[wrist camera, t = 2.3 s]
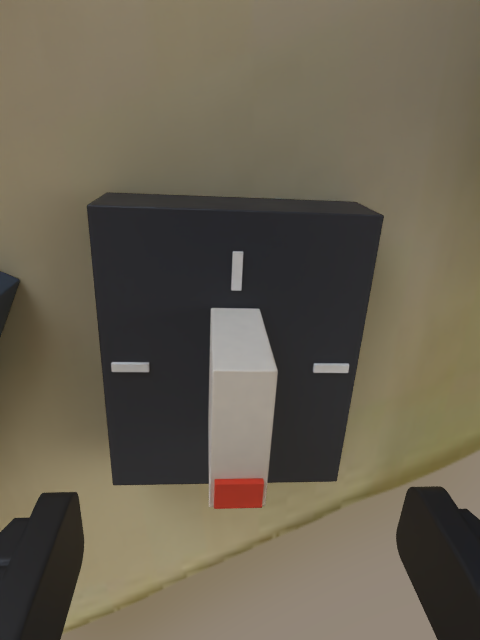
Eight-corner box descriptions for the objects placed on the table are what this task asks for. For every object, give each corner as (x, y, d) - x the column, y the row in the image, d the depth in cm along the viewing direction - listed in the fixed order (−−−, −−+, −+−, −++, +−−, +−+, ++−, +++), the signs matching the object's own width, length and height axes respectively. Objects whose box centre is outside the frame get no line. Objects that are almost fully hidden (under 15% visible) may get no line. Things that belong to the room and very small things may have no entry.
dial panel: (105, 192, 17) (84, 205, 14) (356, 201, 18) (386, 216, 15) (124, 440, 22) (111, 488, 19) (321, 438, 22) (338, 484, 20)
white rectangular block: (210, 307, 16) (212, 374, 11) (259, 308, 16) (279, 375, 12) (208, 420, 18) (209, 514, 13) (251, 419, 18) (266, 512, 14)
